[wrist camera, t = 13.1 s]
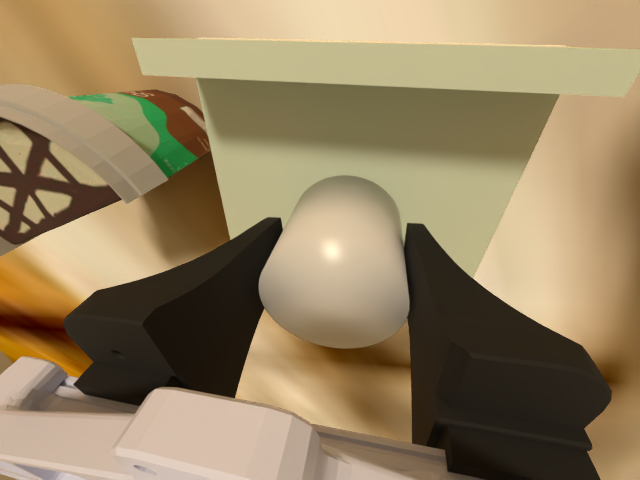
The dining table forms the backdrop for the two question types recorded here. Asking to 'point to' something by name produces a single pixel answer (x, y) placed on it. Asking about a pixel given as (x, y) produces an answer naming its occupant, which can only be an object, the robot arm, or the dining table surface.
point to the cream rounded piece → (339, 266)
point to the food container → (86, 153)
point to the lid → (382, 122)
